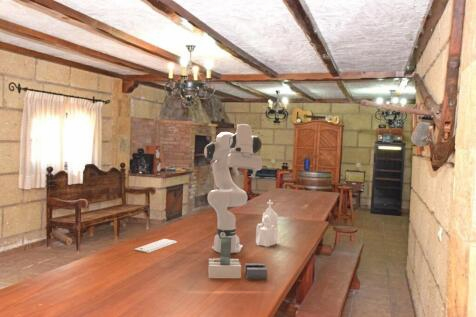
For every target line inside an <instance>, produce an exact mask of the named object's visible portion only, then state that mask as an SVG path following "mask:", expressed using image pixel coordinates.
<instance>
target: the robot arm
mask: <svg viewBox="0 0 476 317" xmlns="http://www.w3.org/2000/svg"><path fill="white" fill-rule="evenodd" d="M252 131H253V130H252V126H251V125H250V124H247V123H240V124H237V126H236V131H235V133H232V132H228V131H224V132H220V133H218V135H216V138H215V142H212V141H210V143H209V144H207V145H206V146H205V147H204V150H203V154H204V157H205V160H207V161H214V162H213V163H212V176H213V179H214V184H215V186H216V189H213V190H212V189H211V190H210V191H209V192H208V194H207V202H208V204H209V205H210V206H211V207H212V208H213V209H214V210H215V212H216V215H217V216H216V217H217V228H216V235H215V236H214V239H213V240H214V241H213V245H212V247H211V249H212V250H213V251H214V252H216V253H219V254H221V236H228V237H231V254H234V253H237V254H239V253H240V252H241V250H242V249H243V246H244V245H243V244H240V237H239V236H238V235H237V231H238V227H236V215H235V214H234V213H233V212H231V211H229V210H228V207H229V208H230V207H231V208H232V207H241V206H245V205H246V204H247V202H248V194H247V192H246V191H245V190H244V189H242V188H240V187H239V186H237V184H235V182H234V181H233V178H232V175H231V172H230V168H233V171H234V172H235V176H236V177H239V176H240V175H241V172H240V171H239V170H238V169H244V170H252V173H251V174H250V176H251V178H256V174H257V171H260V170H262V169H263V162H262V160H263V159H262V155H260V153H258V152H259V151H260V150H261V149H262V140H261V138H259V136H258V135H253V132H252Z"/></svg>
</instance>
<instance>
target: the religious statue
mask: <svg viewBox="0 0 476 317" xmlns="http://www.w3.org/2000/svg"><path fill="white" fill-rule="evenodd" d="M266 204H267V205H268V207H267V208H266V209H265V211H264V212H263V213H262V217H261V218H262V219H261V223H257V225H256V229H255V230H256V231H255V243H256V246H261V247H266V248H268V247H271V246H274V245H276V244H277V243H278V232H279V228H278V217H279V214H278V213H277V212H276V211H274V209H273V207H272V206H273V205H274V202H273V201H272V199H268V201H266Z"/></svg>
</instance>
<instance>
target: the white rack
mask: <svg viewBox="0 0 476 317" xmlns="http://www.w3.org/2000/svg"><path fill="white" fill-rule="evenodd" d="M230 260H234V261H235V263H231V262H230V265H220V262H214V258H208V267H207V268H208V279H242V278H241V277H242V265H241V262H240V259H239V258H230Z"/></svg>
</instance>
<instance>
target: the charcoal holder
mask: <svg viewBox="0 0 476 317" xmlns="http://www.w3.org/2000/svg"><path fill="white" fill-rule="evenodd" d="M244 275H245V277H246V280H251V281H252V280H254V281H255V280H256V281H257V280H259V281H261V280H265V281H266V280H268V268H267V267H266V264H265V263H264V262H263V263H262V262H261V263H259V262H258V263H257V262H256V263H255V262H254V263H253V262H248V263H247V262H245V264H244Z"/></svg>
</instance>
